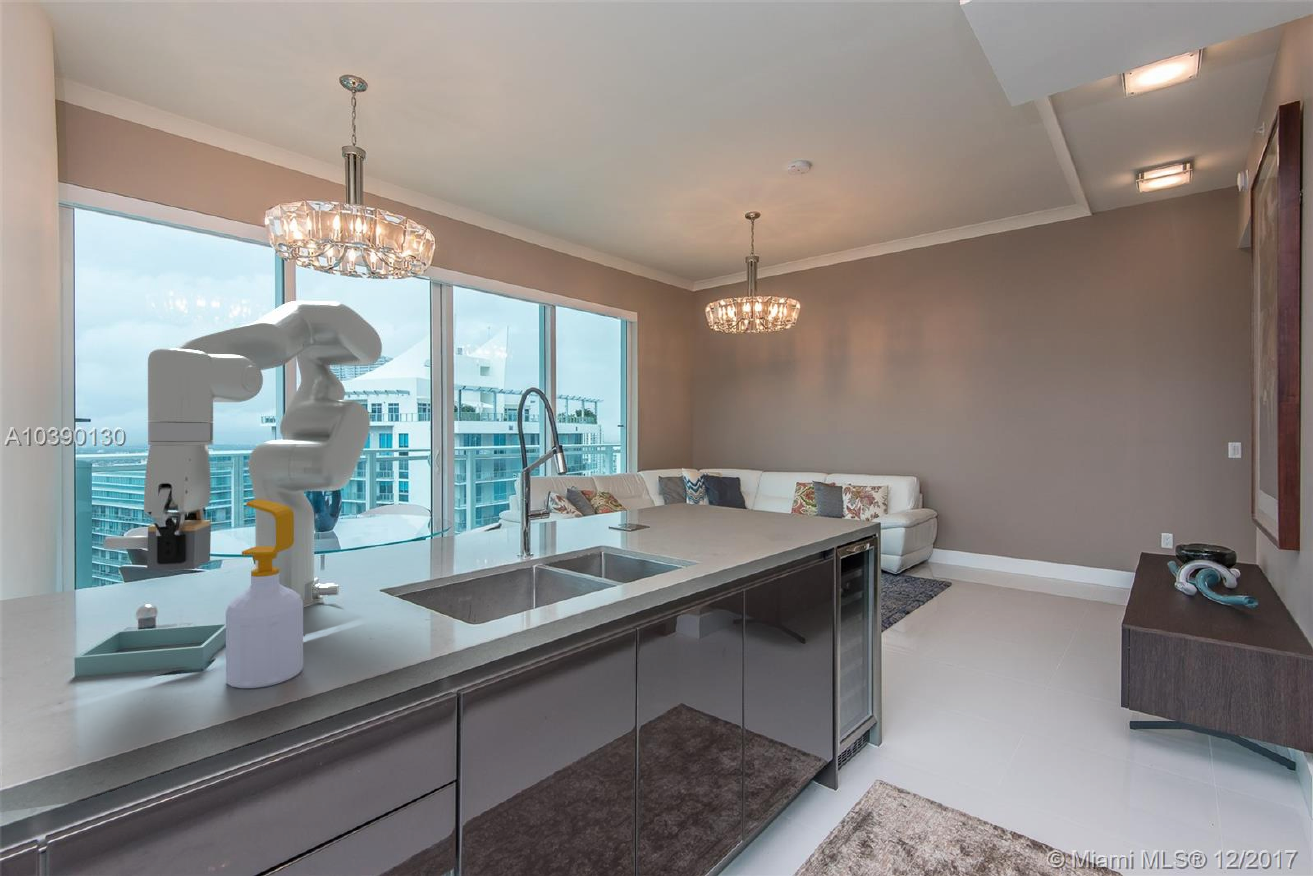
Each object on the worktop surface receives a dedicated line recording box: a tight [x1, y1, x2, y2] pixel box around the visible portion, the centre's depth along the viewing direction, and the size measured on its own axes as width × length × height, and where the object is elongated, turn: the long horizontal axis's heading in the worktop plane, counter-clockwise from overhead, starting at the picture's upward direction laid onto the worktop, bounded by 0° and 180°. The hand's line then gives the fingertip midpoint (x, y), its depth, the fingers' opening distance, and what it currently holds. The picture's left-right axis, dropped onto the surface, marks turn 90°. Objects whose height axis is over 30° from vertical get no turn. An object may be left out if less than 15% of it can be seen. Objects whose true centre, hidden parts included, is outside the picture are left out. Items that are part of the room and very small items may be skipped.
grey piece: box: [122, 603, 193, 631], centre depth 97 cm, size 9×9×6 cm
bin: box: [73, 622, 226, 677], centre depth 89 cm, size 15×11×4 cm
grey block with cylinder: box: [102, 519, 212, 571], centre depth 88 cm, size 12×6×6 cm, turn 107°
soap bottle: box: [225, 499, 304, 689], centre depth 85 cm, size 9×9×25 cm
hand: (181, 557), depth 89 cm, fingers closed on grey block with cylinder, 5 cm apart
